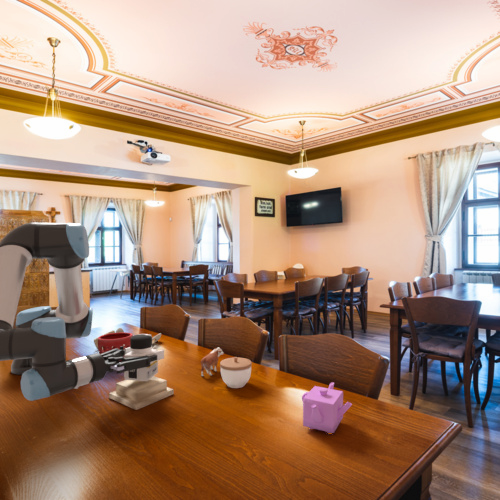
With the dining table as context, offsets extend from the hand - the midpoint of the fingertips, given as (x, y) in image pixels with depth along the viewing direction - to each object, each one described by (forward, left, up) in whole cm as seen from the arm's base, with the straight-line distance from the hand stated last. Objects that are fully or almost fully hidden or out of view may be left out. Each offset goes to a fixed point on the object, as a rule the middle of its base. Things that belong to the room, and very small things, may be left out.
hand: (152, 351), depth 118 cm
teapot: (+55, +13, -13) cm, 58 cm away
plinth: (0, -4, -13) cm, 14 cm away
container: (0, -4, -7) cm, 8 cm away
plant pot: (-33, +8, -13) cm, 37 cm away
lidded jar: (+18, +21, -13) cm, 31 cm away
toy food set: (-53, +28, -14) cm, 62 cm away
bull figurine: (+3, +25, -13) cm, 28 cm away
